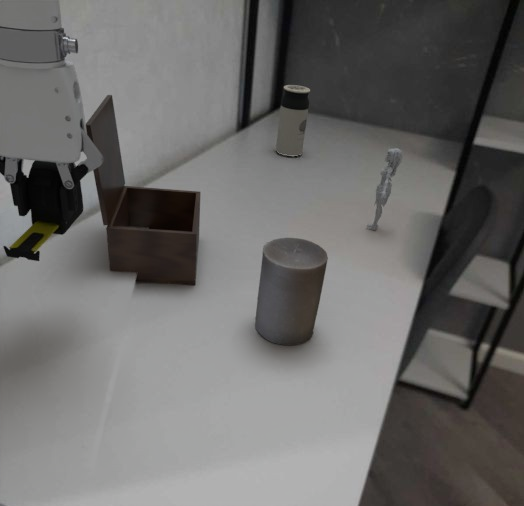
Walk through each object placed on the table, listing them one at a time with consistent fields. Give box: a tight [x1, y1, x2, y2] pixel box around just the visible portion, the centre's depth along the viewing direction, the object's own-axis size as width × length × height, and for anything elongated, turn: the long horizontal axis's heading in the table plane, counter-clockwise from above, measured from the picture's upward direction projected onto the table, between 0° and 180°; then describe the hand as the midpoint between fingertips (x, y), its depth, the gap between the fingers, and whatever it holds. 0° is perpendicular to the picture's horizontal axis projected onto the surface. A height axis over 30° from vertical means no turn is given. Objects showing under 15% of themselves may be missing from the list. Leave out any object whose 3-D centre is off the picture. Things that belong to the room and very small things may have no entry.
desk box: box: [105, 185, 201, 286], centre depth 95 cm, size 15×19×10 cm
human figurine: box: [366, 147, 403, 231], centre depth 114 cm, size 12×4×18 cm, turn 163°
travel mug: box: [275, 84, 311, 155], centre depth 151 cm, size 8×8×18 cm
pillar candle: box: [254, 237, 329, 346], centre depth 80 cm, size 10×10×15 cm
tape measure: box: [3, 160, 84, 262], centre depth 63 cm, size 15×4×8 cm, turn 175°
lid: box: [85, 94, 126, 226], centre depth 86 cm, size 15×19×1 cm
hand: (47, 212), depth 64 cm, fingers closed on tape measure, 4 cm apart
